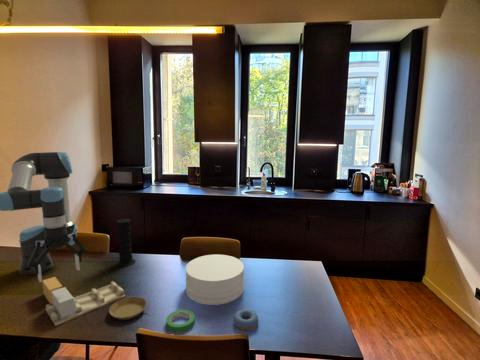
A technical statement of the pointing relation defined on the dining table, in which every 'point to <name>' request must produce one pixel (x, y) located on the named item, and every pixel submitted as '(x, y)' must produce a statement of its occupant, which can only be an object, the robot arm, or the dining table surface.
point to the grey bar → (63, 302)
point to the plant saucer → (128, 308)
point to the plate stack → (214, 279)
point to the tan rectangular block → (50, 288)
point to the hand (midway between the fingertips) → (59, 274)
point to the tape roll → (180, 327)
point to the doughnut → (241, 319)
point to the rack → (89, 302)
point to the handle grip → (124, 243)
